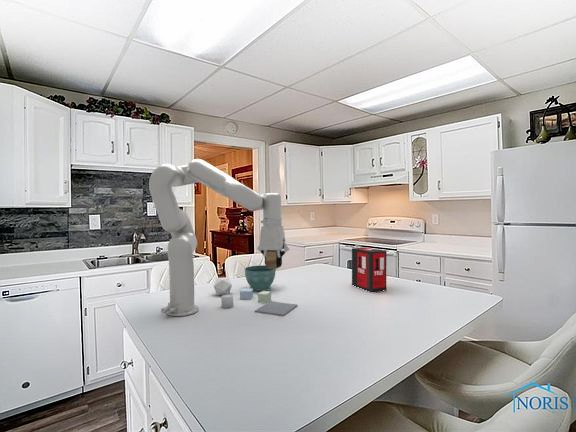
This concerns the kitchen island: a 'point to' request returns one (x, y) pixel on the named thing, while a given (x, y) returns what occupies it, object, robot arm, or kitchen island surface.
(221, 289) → the die
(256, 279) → the flower pot
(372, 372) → the kitchen island surface
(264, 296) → the sage block
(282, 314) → the slate mat
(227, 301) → the grey rounded piece
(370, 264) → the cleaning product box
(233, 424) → the kitchen island surface
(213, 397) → the kitchen island surface
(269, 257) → the walnut block
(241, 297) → the dusty blue cube
